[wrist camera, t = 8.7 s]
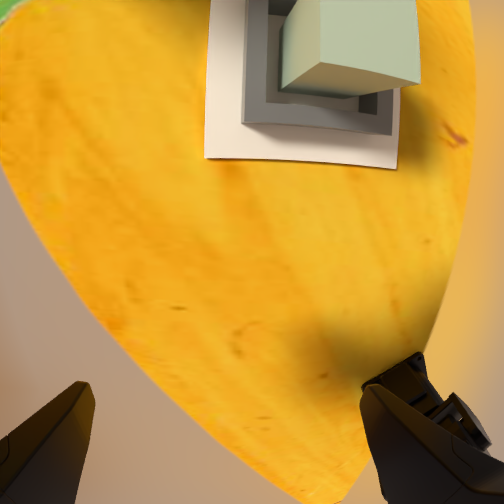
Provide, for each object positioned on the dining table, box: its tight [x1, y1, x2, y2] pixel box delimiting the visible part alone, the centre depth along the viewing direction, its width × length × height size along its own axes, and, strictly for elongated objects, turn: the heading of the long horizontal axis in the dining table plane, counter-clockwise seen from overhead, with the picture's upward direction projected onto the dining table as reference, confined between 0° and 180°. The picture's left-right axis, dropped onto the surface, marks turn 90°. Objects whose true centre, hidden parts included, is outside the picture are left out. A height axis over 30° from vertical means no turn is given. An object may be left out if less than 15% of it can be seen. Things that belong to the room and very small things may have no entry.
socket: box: [204, 0, 400, 169], centre depth 15 cm, size 12×12×3 cm
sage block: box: [278, 0, 421, 99], centre depth 12 cm, size 4×4×8 cm
